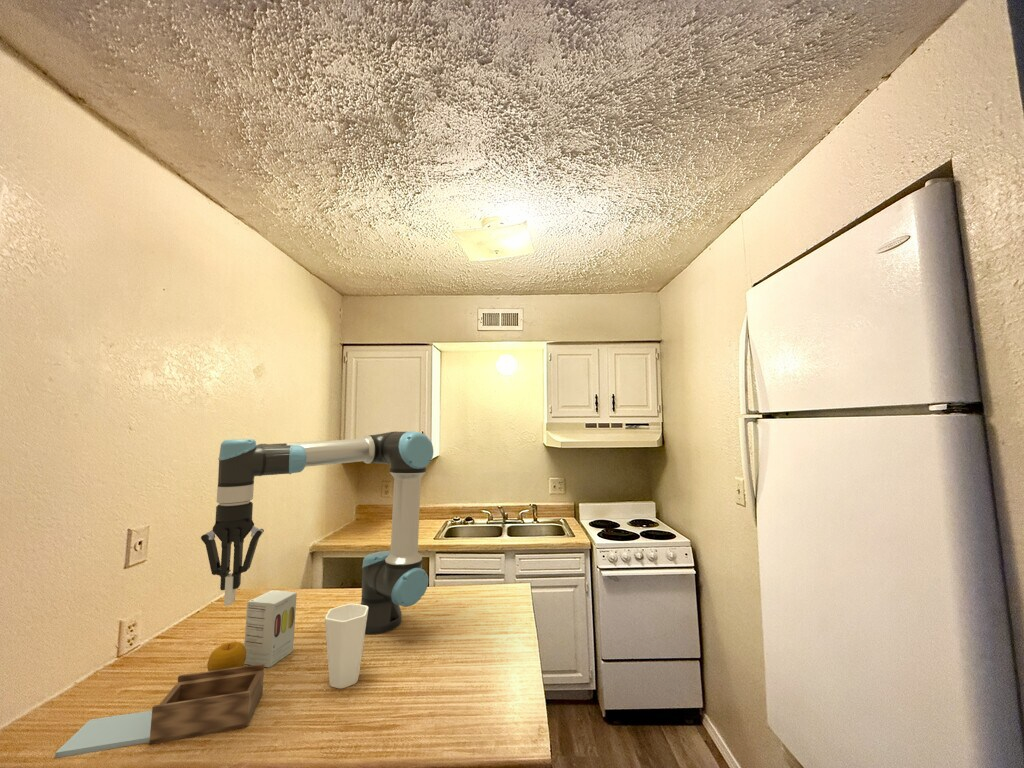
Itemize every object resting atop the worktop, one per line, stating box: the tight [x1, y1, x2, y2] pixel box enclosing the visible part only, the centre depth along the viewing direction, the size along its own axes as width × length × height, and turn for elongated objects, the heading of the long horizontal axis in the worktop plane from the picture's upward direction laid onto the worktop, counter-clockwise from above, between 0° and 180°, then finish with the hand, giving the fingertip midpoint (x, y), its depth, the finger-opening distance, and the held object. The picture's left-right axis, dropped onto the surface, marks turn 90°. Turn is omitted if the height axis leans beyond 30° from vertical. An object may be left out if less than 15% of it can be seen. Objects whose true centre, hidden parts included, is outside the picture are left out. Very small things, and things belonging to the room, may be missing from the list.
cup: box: [324, 603, 369, 689], centre depth 111 cm, size 11×10×17 cm
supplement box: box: [243, 589, 298, 668], centre depth 122 cm, size 10×9×17 cm
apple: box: [206, 641, 246, 671], centre depth 111 cm, size 9×8×9 cm
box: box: [148, 664, 265, 745], centre depth 96 cm, size 18×12×7 cm, turn 107°
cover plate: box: [54, 710, 152, 759], centre depth 91 cm, size 16×10×2 cm, turn 106°
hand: (229, 603), depth 100 cm, fingers closed
